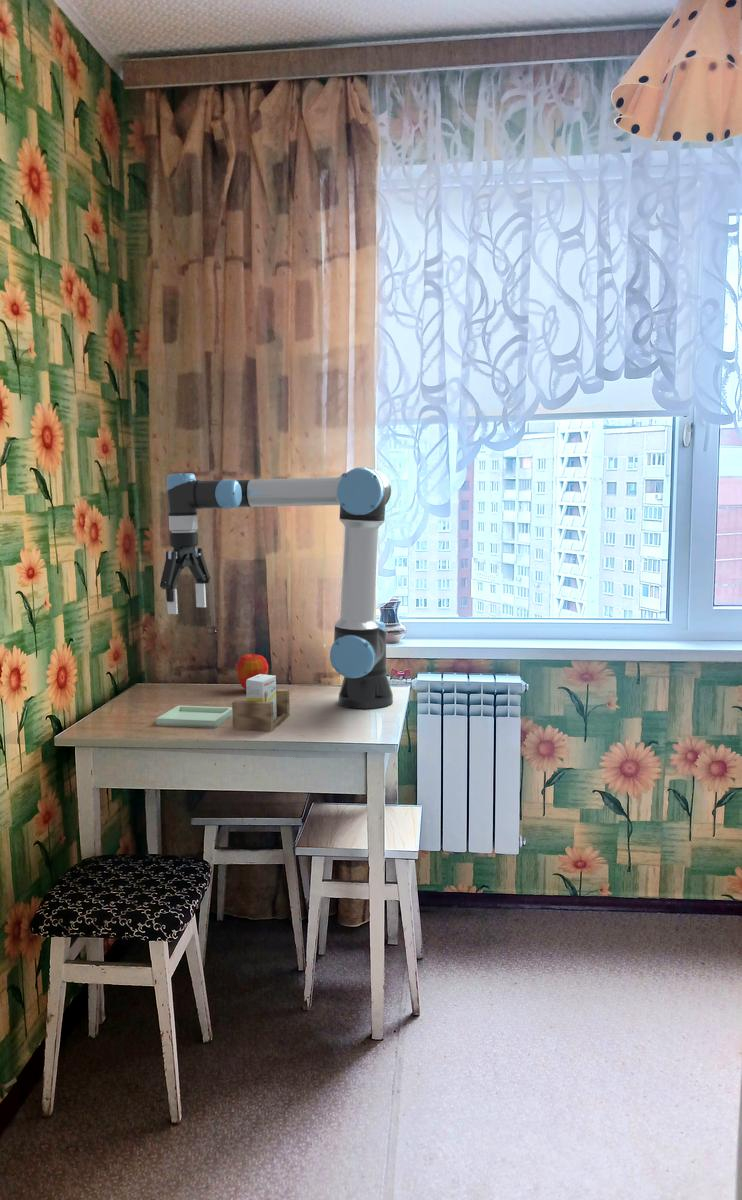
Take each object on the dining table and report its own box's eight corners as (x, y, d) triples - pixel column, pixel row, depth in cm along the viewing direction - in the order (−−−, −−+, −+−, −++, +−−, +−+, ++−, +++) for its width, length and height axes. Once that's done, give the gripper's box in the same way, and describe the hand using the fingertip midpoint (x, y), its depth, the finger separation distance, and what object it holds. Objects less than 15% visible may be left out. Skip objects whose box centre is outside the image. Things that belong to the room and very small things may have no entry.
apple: (233, 694, 268) (232, 654, 266) (243, 687, 276) (242, 648, 275) (263, 695, 266) (262, 654, 264) (272, 688, 275) (271, 649, 273)
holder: (289, 715, 242) (289, 689, 241) (271, 731, 226) (270, 703, 226) (253, 713, 244) (253, 688, 243) (232, 729, 228) (232, 702, 228)
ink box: (263, 727, 230) (262, 681, 229) (246, 725, 232) (244, 680, 230) (277, 719, 238) (276, 674, 237) (260, 717, 240) (259, 673, 239)
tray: (234, 714, 244) (234, 707, 244) (215, 727, 230) (215, 720, 230) (178, 711, 247) (178, 705, 247) (156, 725, 234) (156, 718, 233)
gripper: (197, 529, 257) (201, 604, 259) (143, 534, 234) (147, 616, 237) (220, 529, 254) (223, 604, 257) (168, 534, 231) (172, 617, 234)
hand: (187, 610), depth 247 cm, fingers open, 13 cm apart
